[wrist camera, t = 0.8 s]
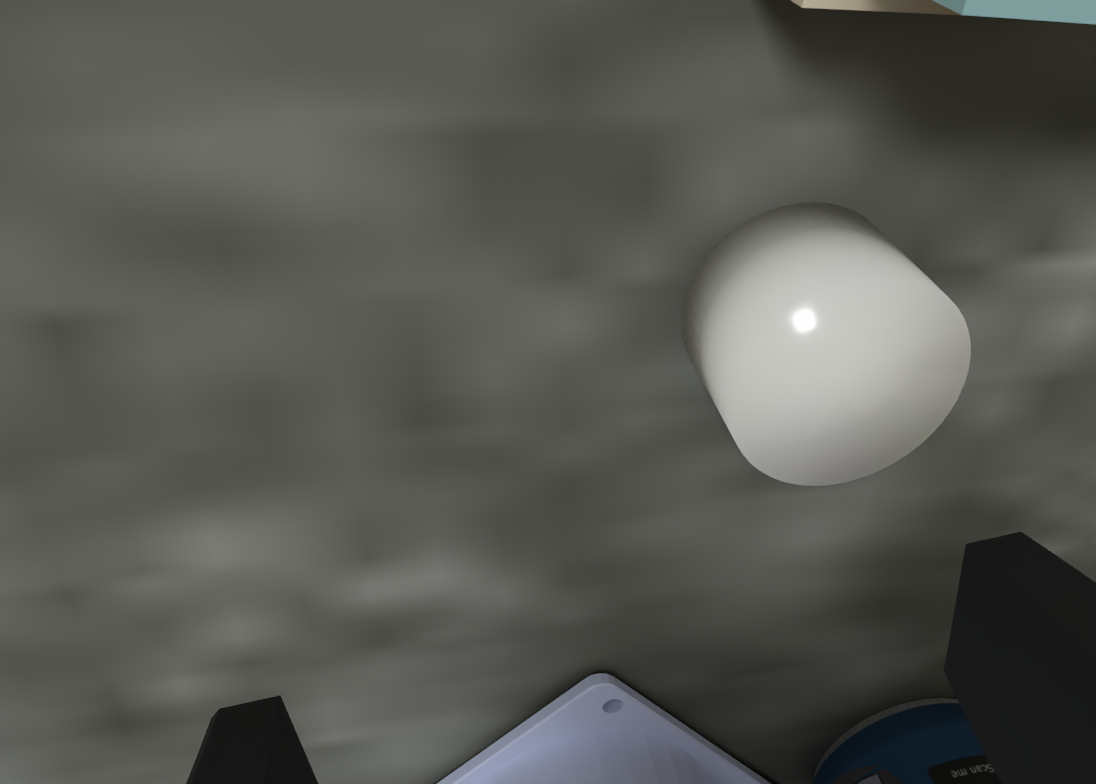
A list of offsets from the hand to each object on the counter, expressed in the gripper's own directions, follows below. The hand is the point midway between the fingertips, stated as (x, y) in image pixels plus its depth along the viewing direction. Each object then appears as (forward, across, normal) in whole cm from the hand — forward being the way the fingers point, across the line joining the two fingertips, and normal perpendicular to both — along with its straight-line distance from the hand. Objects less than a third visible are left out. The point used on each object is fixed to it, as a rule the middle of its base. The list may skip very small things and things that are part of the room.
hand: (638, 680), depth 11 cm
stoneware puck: (+10, -5, +2) cm, 11 cm away
